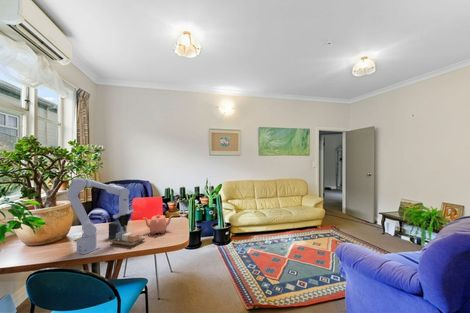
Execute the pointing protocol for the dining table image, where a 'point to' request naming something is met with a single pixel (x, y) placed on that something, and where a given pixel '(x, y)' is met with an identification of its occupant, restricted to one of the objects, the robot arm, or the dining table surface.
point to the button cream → (126, 236)
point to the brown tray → (126, 243)
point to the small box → (115, 229)
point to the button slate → (120, 235)
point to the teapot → (158, 224)
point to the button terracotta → (133, 237)
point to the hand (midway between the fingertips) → (124, 226)
